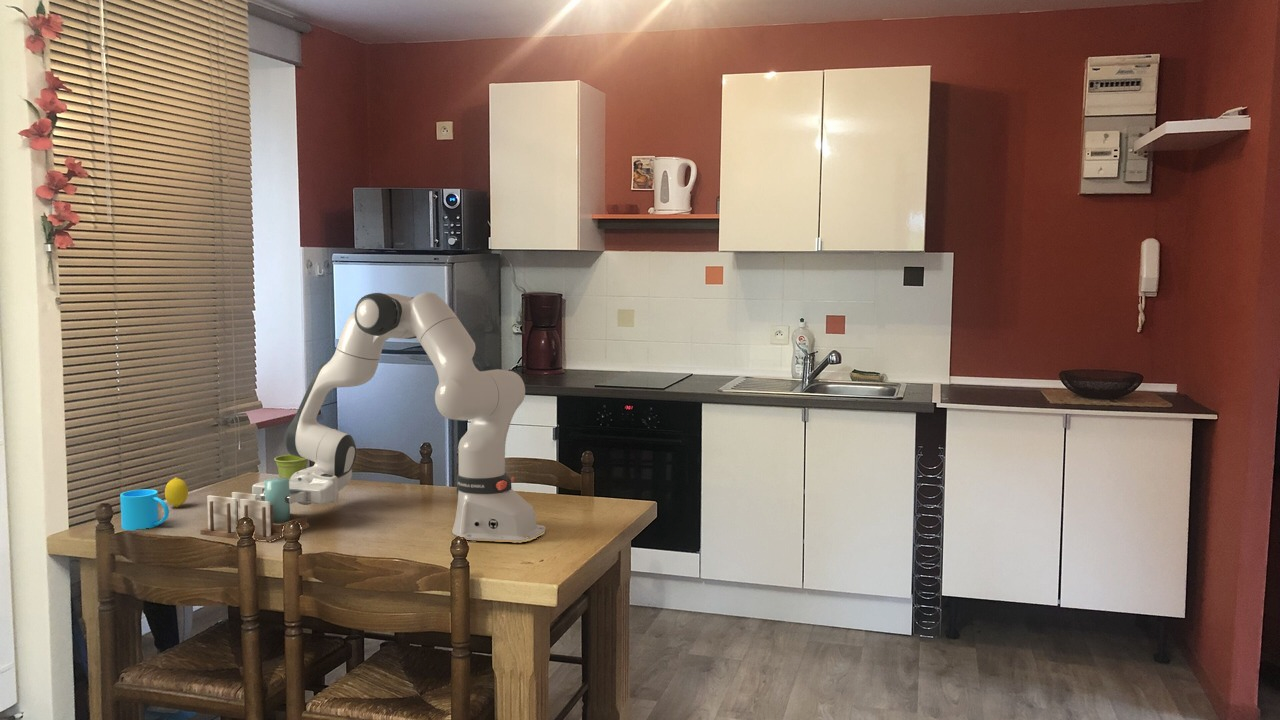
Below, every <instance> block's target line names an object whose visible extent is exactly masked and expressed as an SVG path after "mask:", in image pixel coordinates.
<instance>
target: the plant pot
mask: <svg viewBox="0 0 1280 720" xmlns="http://www.w3.org/2000/svg"><path fill="white" fill-rule="evenodd" d="M274 461H275V464H276V466H277V471H278V475H279V476H278V477H279V478H288V479H289V480H290V478H291V476H292V475H293V474H294V473H296V472H298V471H300V470H303V469H306V468H307V464H308V461H309V460H308V459H306V458H301V457H297V456H294V455H291V454H284V455H279V456H276V457H274Z"/></svg>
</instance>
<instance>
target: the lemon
mask: <svg viewBox="0 0 1280 720" xmlns="http://www.w3.org/2000/svg"><path fill="white" fill-rule="evenodd" d="M188 495H189V489H188V484H187V483H186V482H185V481H184V480H183V479H181V478H178V477H176V476H175V477H174V478H172V479H170V480H169V481H168V482H167V484H166V485H165V488H164V497H165V500H166V502H167V503H168V504H170V505H172V506H173V507H175V508H179V507H180V506H181V505H183V504H184V503H185V502H187V499H188Z"/></svg>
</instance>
